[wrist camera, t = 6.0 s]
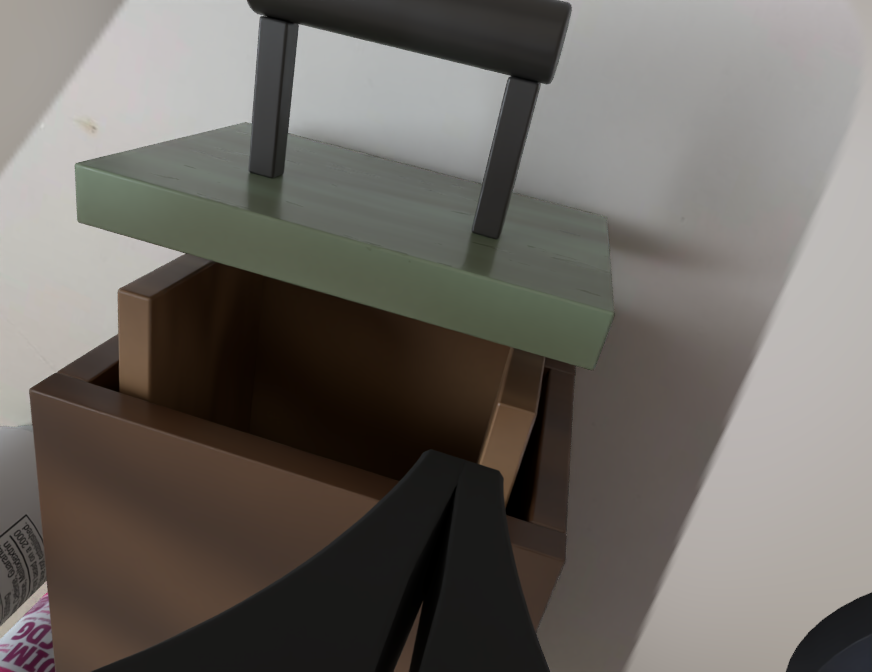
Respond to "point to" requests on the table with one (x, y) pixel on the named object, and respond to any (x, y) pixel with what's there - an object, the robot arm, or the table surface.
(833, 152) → the table surface
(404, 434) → the drawer
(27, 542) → the energy drink can
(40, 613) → the pill bottle
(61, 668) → the cabinet
